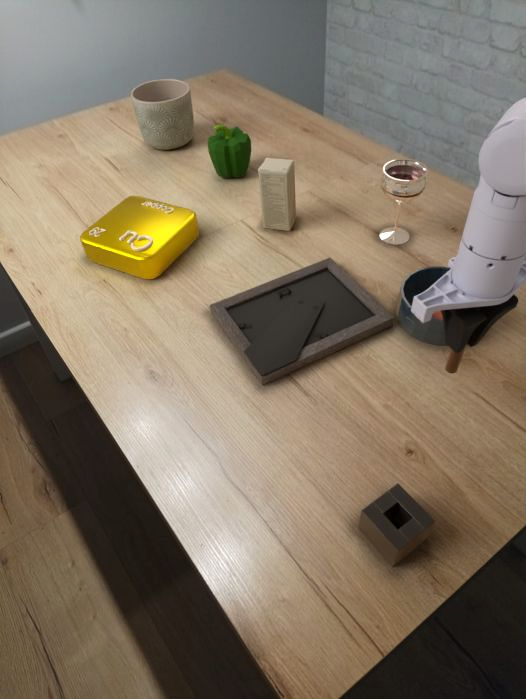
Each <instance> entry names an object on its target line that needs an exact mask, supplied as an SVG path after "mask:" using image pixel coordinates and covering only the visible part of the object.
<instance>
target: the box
mask: <svg viewBox="0 0 526 699" xmlns="http://www.w3.org/2000/svg"><path fill="white" fill-rule="evenodd" d="M257 174H258V184H259V194H260V205H261V206H260V208H261V218H262V227H263V228H264V229H271V230H278V231H286V232H290V231H291V230H292V228H293V226H294V223H295V222H296V220H297V204H296V202H297V201H296V173H295V160H294V159H284V158H275V157H274V158H272V157H266V158H265V159H264V160H263V162H262V163H261V164H260V166H259V168H258V169H257Z"/></svg>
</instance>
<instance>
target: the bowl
mask: <svg viewBox="0 0 526 699" xmlns="http://www.w3.org/2000/svg"><path fill="white" fill-rule="evenodd" d="M450 269H451V268H450V267H449V266H439V265H438V266H437V265H436V266H426V267H422V268H418V269H416V270H414V271H412V272H410V273H408V274H407V275H406V276H405V278H404V279H402V282H401V286H400V290H399V293H398V299H397V304H396V311H395V312H396V313H395V314H396V319H397V322H398V324H399V325H400V327H401V328H402V329H403V331H405V333H407V334H408V335H410V336H411V337H413V338H414V339H416V340H418V341H420V342H422V343H425V344H430V345H433V346H434V345H435V346H448V345H447V344H446V343H445V331H444V322H443V320H442V319H437V318H431V320H430V321H428V322H425V323H422V322H421V321H420V320H419V319H418V318H417V317H416V316H415V315H414V314H413V313H412V312H411V308H412V303H413V299H414V296H416V295H419V294H421V293H423V292H424V291H426V290H427V289H428V288H429V287H431V286H432V285H433V284H434V283H435V282H436V281H437V280H439V279H440V278H441V277H442V276H443V275H444V274H446V273H447V272H448V271H449V270H450Z"/></svg>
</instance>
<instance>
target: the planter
mask: <svg viewBox="0 0 526 699" xmlns="http://www.w3.org/2000/svg"><path fill="white" fill-rule="evenodd" d="M130 99H131V102H132V106H133V110H134V114H135V118H136V121H137V125H138V128H139V130H140V134H141V136H142V139H143V140H144V142H145V143H146V144H147V145H148V146H149V147H151V148H154V149H157V150H163V151H165V150H167V151H169V150H175V149H178V148H179V149H180V148H181V147H183V146H186V145H187V144H188V143H189V142H190V141H191V140H192V139H193V136H194V133H195V120H194V119H195V118H194V109H193V108H194V107H193V98H192V92H191V86H190V84H189V83H187V82H186V81H184V80H181V79H174V78H161V79H154V80H153V79H152V80H149V81H146V82H143V83H141V84H139V85H136V86H135V87H134V88H133V89H132V90H131V91H130Z"/></svg>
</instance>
